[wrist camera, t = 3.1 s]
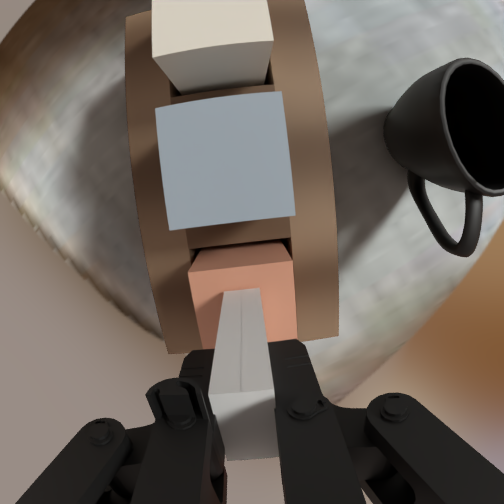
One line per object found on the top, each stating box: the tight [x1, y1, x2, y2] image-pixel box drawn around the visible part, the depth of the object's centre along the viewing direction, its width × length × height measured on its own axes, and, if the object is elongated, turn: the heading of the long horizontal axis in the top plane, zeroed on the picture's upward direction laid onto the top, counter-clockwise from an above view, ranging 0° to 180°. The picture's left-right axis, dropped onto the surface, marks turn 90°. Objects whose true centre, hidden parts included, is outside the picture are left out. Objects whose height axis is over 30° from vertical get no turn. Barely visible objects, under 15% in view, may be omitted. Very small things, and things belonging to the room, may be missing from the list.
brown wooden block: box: [125, 0, 339, 354], centre depth 17 cm, size 20×10×7 cm, turn 6°
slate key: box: [155, 91, 296, 230], centre depth 13 cm, size 4×4×7 cm
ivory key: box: [152, 0, 274, 96], centre depth 12 cm, size 4×4×7 cm
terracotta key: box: [188, 238, 298, 349], centre depth 16 cm, size 4×4×7 cm
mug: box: [384, 58, 504, 257], centre depth 16 cm, size 8×12×10 cm
